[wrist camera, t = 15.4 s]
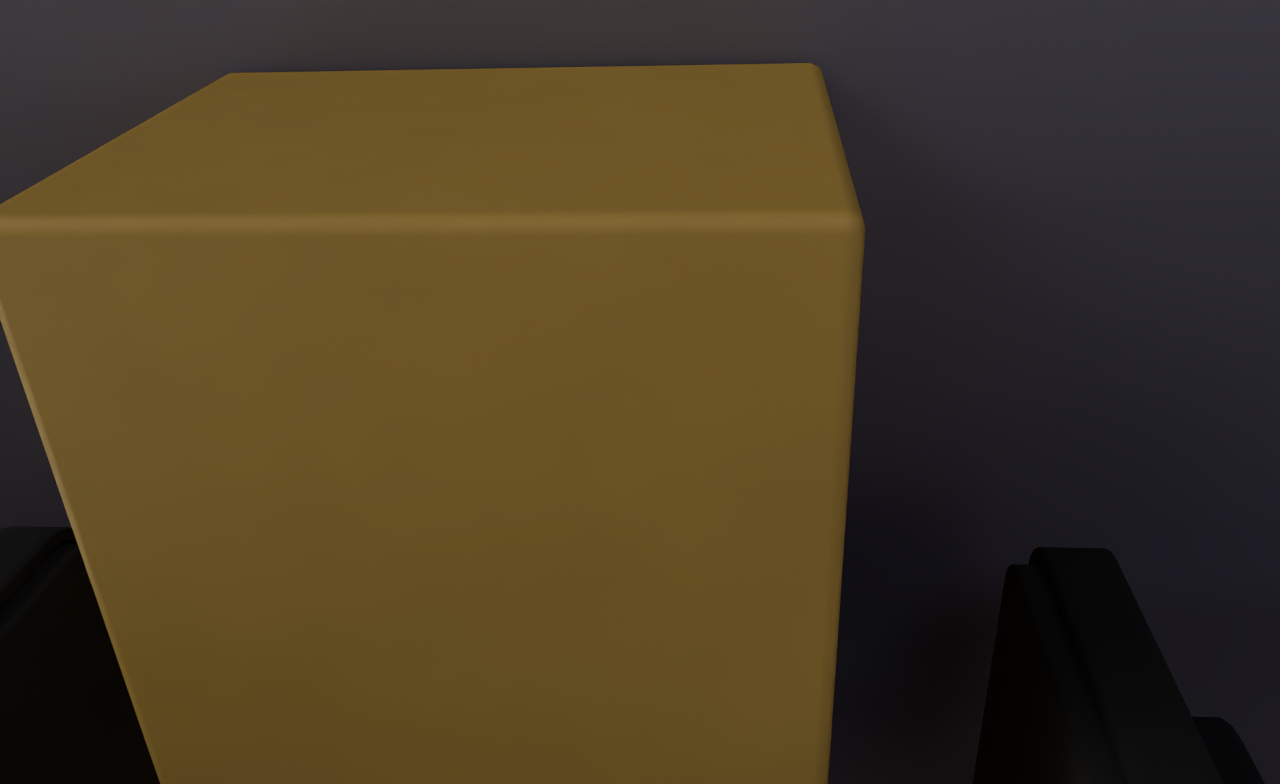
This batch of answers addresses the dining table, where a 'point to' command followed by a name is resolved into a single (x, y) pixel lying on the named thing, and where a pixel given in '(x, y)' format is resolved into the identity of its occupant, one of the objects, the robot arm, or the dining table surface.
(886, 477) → the dining table surface
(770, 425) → the yellow rectangular block
